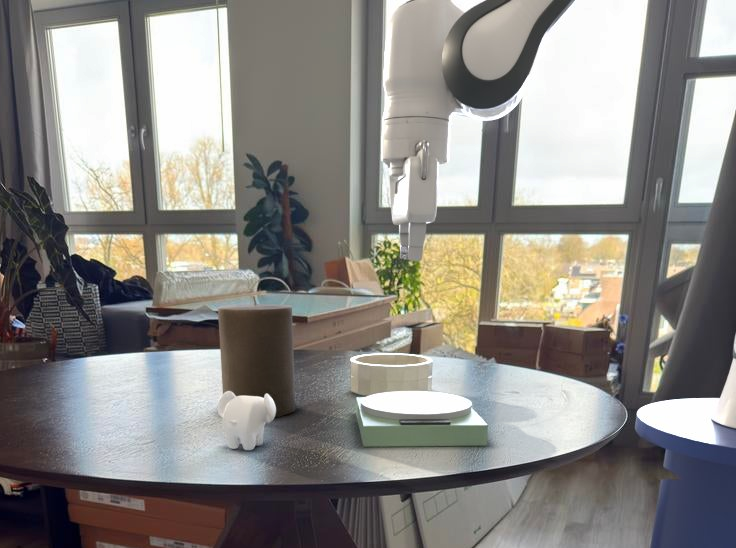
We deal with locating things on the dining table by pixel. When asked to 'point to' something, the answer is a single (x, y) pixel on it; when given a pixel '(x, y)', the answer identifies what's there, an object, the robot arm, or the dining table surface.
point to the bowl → (390, 373)
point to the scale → (419, 420)
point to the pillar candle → (258, 352)
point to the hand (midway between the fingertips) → (410, 260)
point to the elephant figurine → (245, 418)
